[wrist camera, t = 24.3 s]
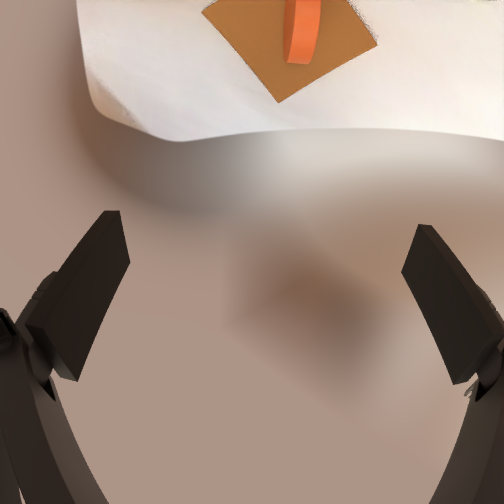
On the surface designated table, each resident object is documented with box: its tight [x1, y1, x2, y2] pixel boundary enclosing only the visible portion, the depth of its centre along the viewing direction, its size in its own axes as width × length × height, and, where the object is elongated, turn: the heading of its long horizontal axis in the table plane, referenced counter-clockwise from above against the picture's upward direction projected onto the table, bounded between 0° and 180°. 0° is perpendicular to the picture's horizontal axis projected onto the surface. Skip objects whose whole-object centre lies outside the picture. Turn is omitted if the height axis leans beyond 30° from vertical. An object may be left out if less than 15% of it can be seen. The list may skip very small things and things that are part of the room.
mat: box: [201, 0, 377, 103], centre depth 25 cm, size 14×14×1 cm
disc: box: [283, 0, 321, 65], centre depth 21 cm, size 2×10×10 cm, turn 178°
